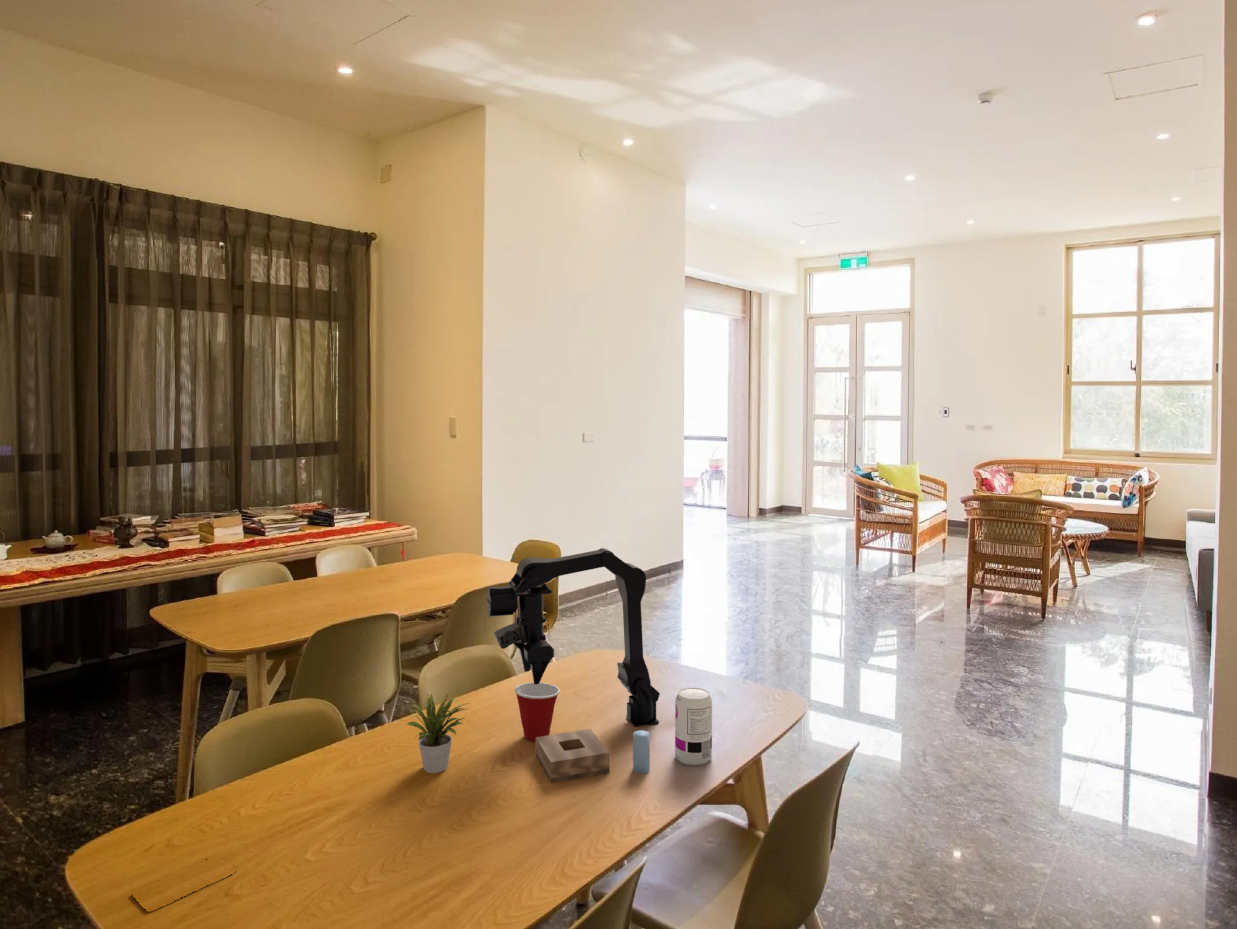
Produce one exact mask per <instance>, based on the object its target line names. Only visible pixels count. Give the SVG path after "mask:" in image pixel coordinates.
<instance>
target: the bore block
mask: <svg viewBox="0 0 1237 929" xmlns="http://www.w3.org/2000/svg"><path fill="white" fill-rule="evenodd" d="M535 757H536V759H537V761H538V763H539V764H540V766H541V768H542V770H543V771H544V774H545V775H546V776H547V778H548V780H549V781H550V783H551V784H554V783H559V782H564V781H570V780H575V779H583V778H586V777H587V778H588V777H593V776H599V775H605V774H610V752H609V750H608V749H607V748H606V746H605V744H603V742H602V741H601V740H600V739H599V738H598V736H597V735H596V733H594V731H593V730H592V728H588V729H581V730H575V731H567V732H561V733H554V734H549V735H547V736H540V737H536V742H535Z"/></svg>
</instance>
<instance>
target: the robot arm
mask: <svg viewBox="0 0 1237 929" xmlns="http://www.w3.org/2000/svg"><path fill="white" fill-rule="evenodd" d="M600 568H606V569H607V570H608V572H610V573H612V574H613V575H614V578H615V581H616V582H615V583H616V586H617V590H618V592H619V595H620V597H621V601H622V602H621V603H622V620H623V641H624V656H623V661H622V662H617V664H616V665H617V671H618V674H617V677H616V678H617V679H618V680H619V681H620V683H621V684H622V686H623V687H624V688H625V689H626V690H627V692H628V693H629V694H630V695H628V702H627V703H626V719H627V720H628V721H629V722H630V724H632V725H633V727H635V728H636V727H645V726H650V725H656V724H657V725H658V724H659V723H660V720H658V719H657V702H658V701H659V697H660V695H661V693H660V692H659V690H657V689H656V688H655V687H653V686H652V682H651V677H650V673H649V669H648V666H647V664H646V662H645V659H644V645H643V644H644V642H643V623H642V622H643V621H642V620H643V619H642V617H643V616H642V600H643V597H644V594H645V592H646V585H647V575H646V572H645V571H644V570H643V569H641V568H639V567H638V566H636V565H634V564H633V563H629V562H625V561H623V560H622V559H620V558H619V557H618V556H616V555H615V554H614V553H613V552H612V551H611V550H609V549H608V548H605V547H604V548H603V547H602V548H601V547H600V548H599V549H595V550H591V551H586V552H581V553H576V554H570V555H566V556H560V557H556V558H546V557H545V558H544V557H526V558H523V559H522V560H520V561H519V563H518V564H517V566H516V572H515V573H514V574H513V576H512V577H511V579H510V581H509V582H508V584H507V585H506V586H488V588H487V593H486V598H485V610H486V615H487V618H494V617H495V618H496V617H503V616H504V617H506V616H513V615H514V614H515V613H516V612H517V611H518V615H516V617H515V622H514V623H511V624H508V625H506V626H504V627H502V628H499V629H497V630H495V631H494V636H495V638H496V641H497V643H498V646H499V647H500V649H503V650H504V649H507V648H508V647H510V646H511V645H514V646H515V647H516V648H517V649H518V650H519V653H520V657H521V662H522V664H523V666H522V667H523V670H524V672H530V670H531V674H532V680H533V682H534V684H539V683H541V680H542V678H543V676H544V673H545V672H546V669H547V667H548V666H549V664H550V662H551V661H552V660H553V658H555V649H554V647H553V646H552V645H551V644H550V643H548V641H546V640H547V636H546V634H545V633H544V624H546V623H547V622H546V621H547V620H546V617H545V616H544V595H551V594H552V593H553V591H552V590H551V589H550V588H549V587H548V586H547V584H546V583H549V582H552V580H553V579H556V578H558V577H560V576H566V575H570V574H571V575H572V574H575V573H580V572H585V571H590V570H594V569H595V570H596V569H600Z"/></svg>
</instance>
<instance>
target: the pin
mask: <svg viewBox="0 0 1237 929" xmlns="http://www.w3.org/2000/svg"><path fill="white" fill-rule="evenodd" d="M650 735H651V734H650V732H649V731H647V730H635V731H634V732H633V733H632V763H633V764H632V770H633V772H634V773H635V774H640V775H641V774H647V773H649V772H650V768H651V767H650V765H651V764H650V762H651V758H650V757H651V756H650V754H651V753H650V751H651V750H650V749H651V746H650V745H651V744H650V741H651V740H650V738H651V736H650Z"/></svg>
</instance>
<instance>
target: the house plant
mask: <svg viewBox="0 0 1237 929" xmlns="http://www.w3.org/2000/svg"><path fill="white" fill-rule="evenodd" d="M457 696H458V695H457V694H456V695H454V696H452V697H451V698H450V699H448V697H449V693H447V695H446V696H445V697H444V698H443V700H442V701H441V703H440V704H439V707H438V708H437V711H436V704H435V702H434V697H433V695H432V694H429V693H426V699H425V700H426V707H425V706H423V708H424V709H425V710H426V715H425V713H424V712H423V711H422V709H421V708H420V707H419V706H417V705H416V704H414V703H413V704H412V703H411V705H412V707H413V708H415V709H414V710H415V711H416V712H417V714H415V713H413V712H412V713H411V714H412V715H413V718H415V717H416V718H417V719H418V721H420V722H421V723H422V724H423V725H421V724H419V723H418V722H416V721H409V722H407V723H406V726H407V725H408V726H412V727H414V728H418V729H419V730H421V731H419V733H418V748H419V751H420V757H421V761H422V762H421V763H422V767H423V770H425V771H426V772H425V771H424V772H425V773H428V774H438V773H437V772H439V773H442V772H444V771H446V770H447V769H448V768H449V762H450V754H451V747H452V736H451V735H450V734H448V732H449V733H453V734H454V735H455V736H457V732H456V729H455V728H453V727H455V726H459V725H464V722H461V721H462V720H465V719H466V717H462V718H458V717H452V715H454V714H456V713H458V712H461V711H467V710H470V708H464V707H462V706H466V705H468V704H470V702H468V703H462V704H460V705H459V704H458V705H457V706H455V707H454V708H452V709H451V710H450V708H451V707H452V704H453V702H454V700H455V699H456V697H457ZM447 699H448V701H447ZM419 716H420V717H421V718H419ZM451 717H452V718H451ZM452 721H453V722H452ZM447 767H448V768H447ZM445 769H446V770H445ZM443 770H444V771H443ZM441 771H442V772H441Z"/></svg>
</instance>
